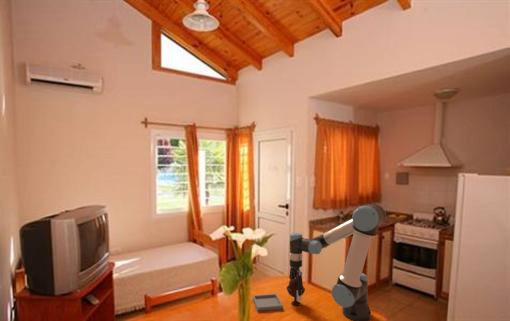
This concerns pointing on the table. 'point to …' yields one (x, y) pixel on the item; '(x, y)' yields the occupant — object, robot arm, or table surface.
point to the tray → (267, 302)
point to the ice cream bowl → (294, 291)
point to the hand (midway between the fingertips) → (295, 296)
